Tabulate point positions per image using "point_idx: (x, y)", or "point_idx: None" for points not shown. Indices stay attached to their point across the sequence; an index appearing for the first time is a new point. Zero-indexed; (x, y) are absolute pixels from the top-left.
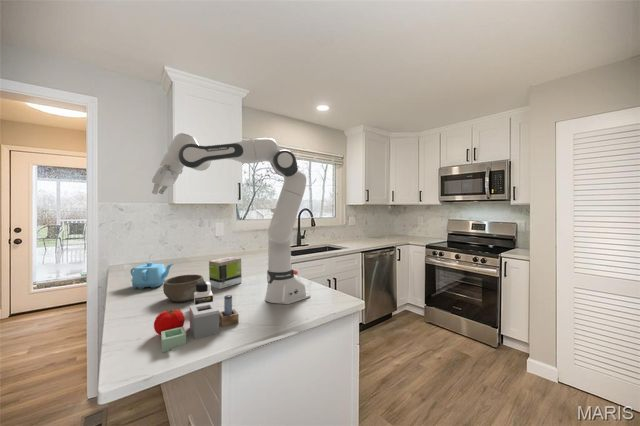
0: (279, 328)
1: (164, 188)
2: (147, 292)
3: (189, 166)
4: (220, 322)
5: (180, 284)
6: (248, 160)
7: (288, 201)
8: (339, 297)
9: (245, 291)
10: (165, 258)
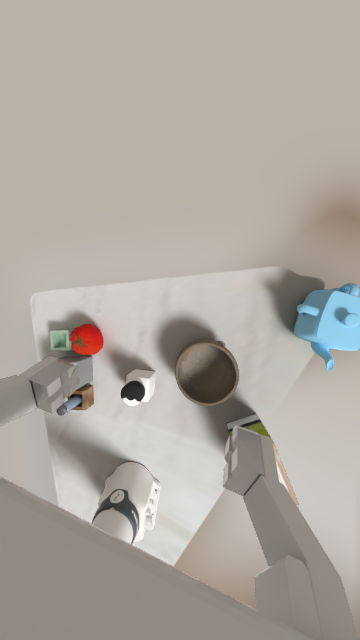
0: (51, 436)
1: (269, 539)
2: (272, 316)
3: None
4: (80, 387)
5: (176, 364)
6: None
7: None
8: None
9: (191, 454)
10: None
